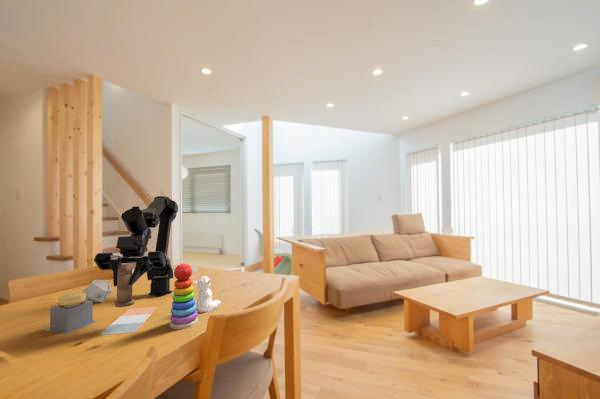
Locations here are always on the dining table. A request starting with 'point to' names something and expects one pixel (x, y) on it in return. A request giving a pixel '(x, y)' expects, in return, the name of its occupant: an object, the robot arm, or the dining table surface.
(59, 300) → the dome button
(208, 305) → the seated beast figurine
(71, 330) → the box
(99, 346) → the dining table surface
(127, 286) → the brown round-topped post
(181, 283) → the stacking toy
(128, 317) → the game board
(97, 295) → the die
